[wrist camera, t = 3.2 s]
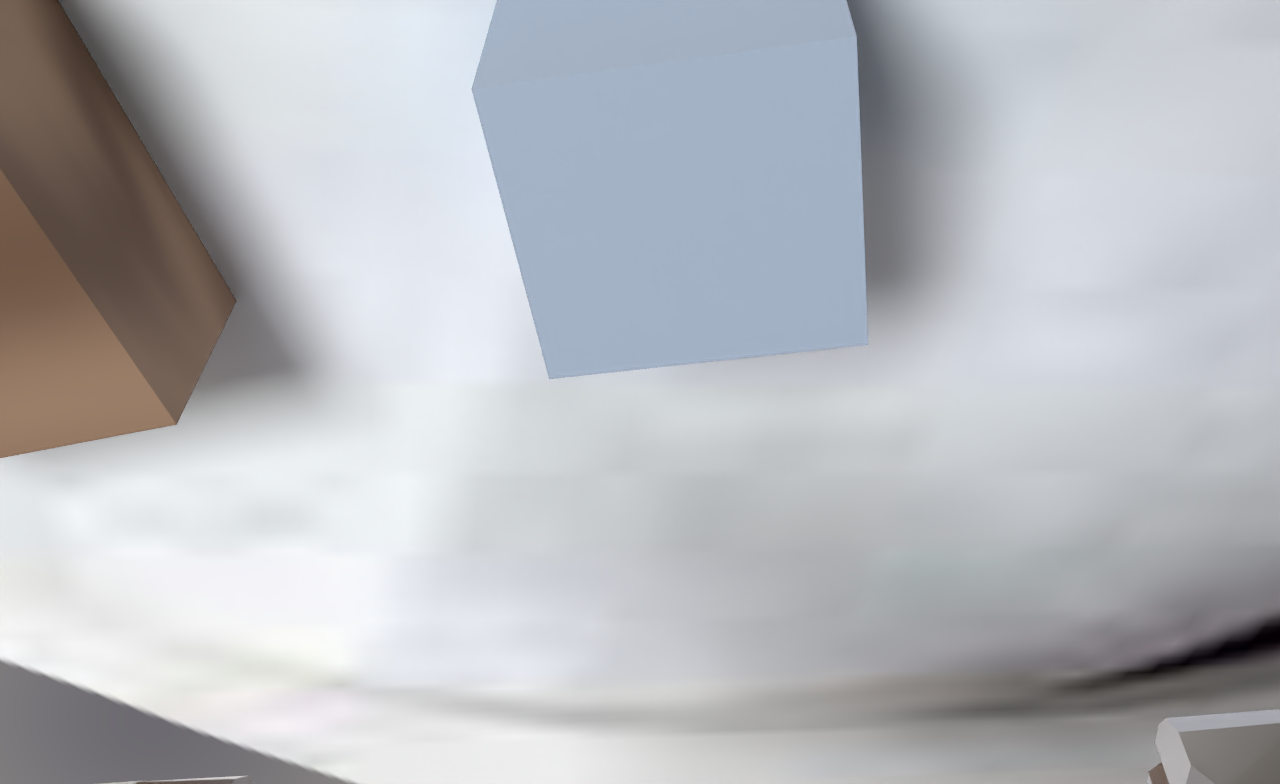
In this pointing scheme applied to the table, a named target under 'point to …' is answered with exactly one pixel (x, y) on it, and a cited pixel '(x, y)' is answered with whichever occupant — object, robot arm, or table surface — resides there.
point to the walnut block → (89, 253)
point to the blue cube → (679, 176)
